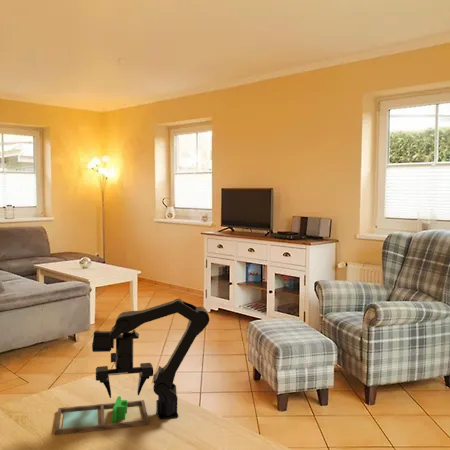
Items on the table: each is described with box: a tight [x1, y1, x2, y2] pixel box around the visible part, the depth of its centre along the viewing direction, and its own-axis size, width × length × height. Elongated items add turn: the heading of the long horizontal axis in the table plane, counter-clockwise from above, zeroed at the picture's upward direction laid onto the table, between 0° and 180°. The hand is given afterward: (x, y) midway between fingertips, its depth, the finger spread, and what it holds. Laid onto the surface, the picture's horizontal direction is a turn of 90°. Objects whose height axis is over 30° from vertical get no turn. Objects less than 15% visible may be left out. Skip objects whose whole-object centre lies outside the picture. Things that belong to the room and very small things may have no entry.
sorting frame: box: [54, 399, 150, 435], centre depth 160 cm, size 29×16×1 cm, turn 105°
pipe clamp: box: [111, 395, 128, 424], centre depth 162 cm, size 11×4×5 cm, turn 3°
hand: (124, 396), depth 162 cm, fingers open, 9 cm apart
